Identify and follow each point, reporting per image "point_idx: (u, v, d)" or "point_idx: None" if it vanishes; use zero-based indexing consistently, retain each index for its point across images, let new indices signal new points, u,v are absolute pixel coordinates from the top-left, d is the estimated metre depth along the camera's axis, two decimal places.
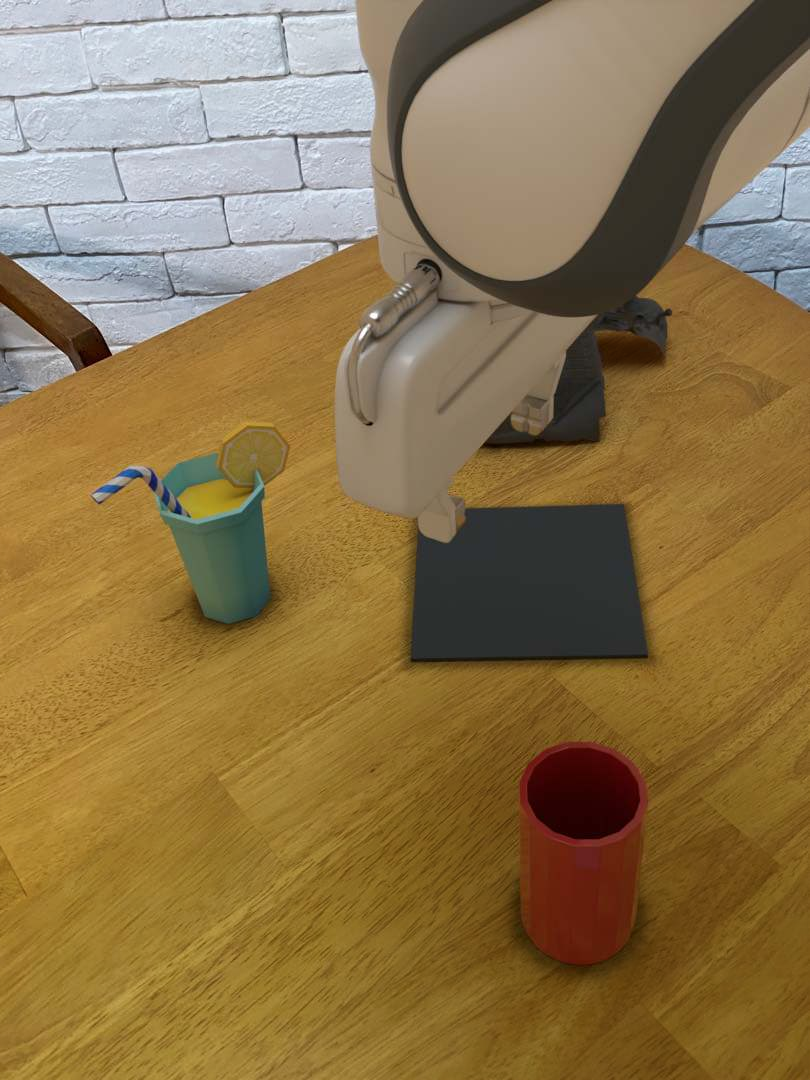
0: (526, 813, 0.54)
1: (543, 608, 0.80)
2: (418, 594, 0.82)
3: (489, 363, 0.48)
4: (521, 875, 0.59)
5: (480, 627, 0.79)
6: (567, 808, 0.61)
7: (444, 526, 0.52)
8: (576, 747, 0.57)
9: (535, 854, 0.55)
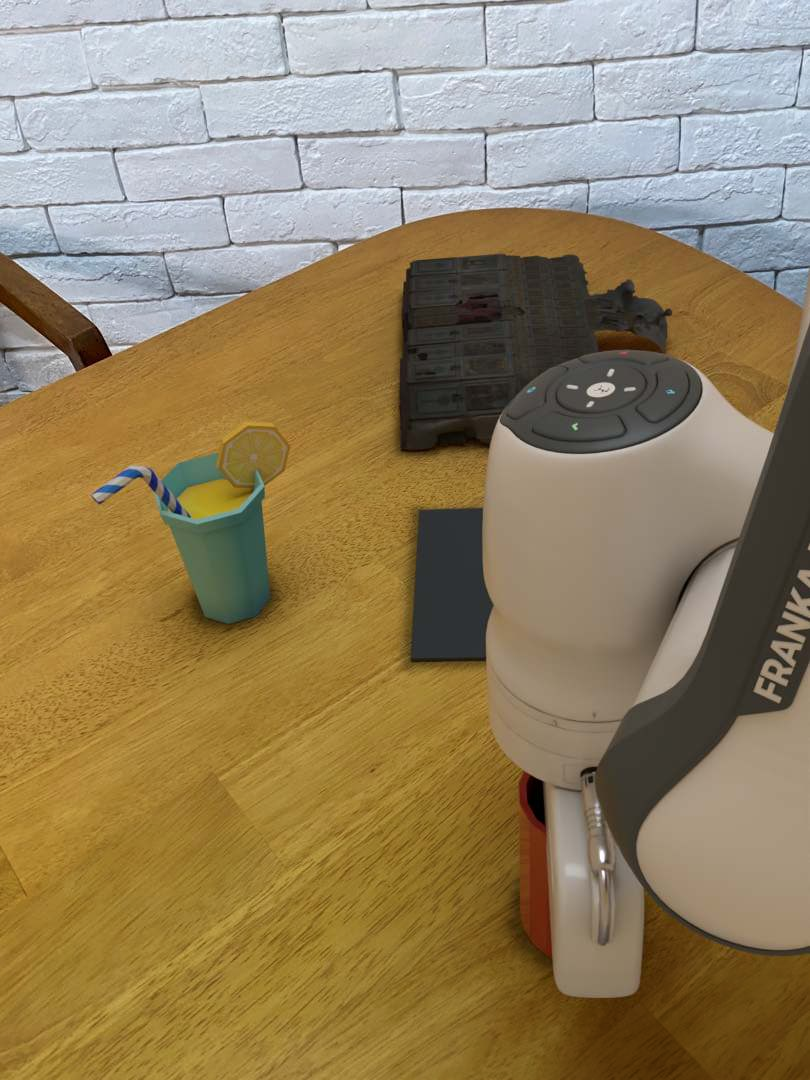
0: (525, 814, 0.54)
1: None
2: (418, 594, 0.82)
3: None
4: (520, 875, 0.59)
5: (480, 627, 0.79)
6: None
7: None
8: None
9: (534, 855, 0.55)
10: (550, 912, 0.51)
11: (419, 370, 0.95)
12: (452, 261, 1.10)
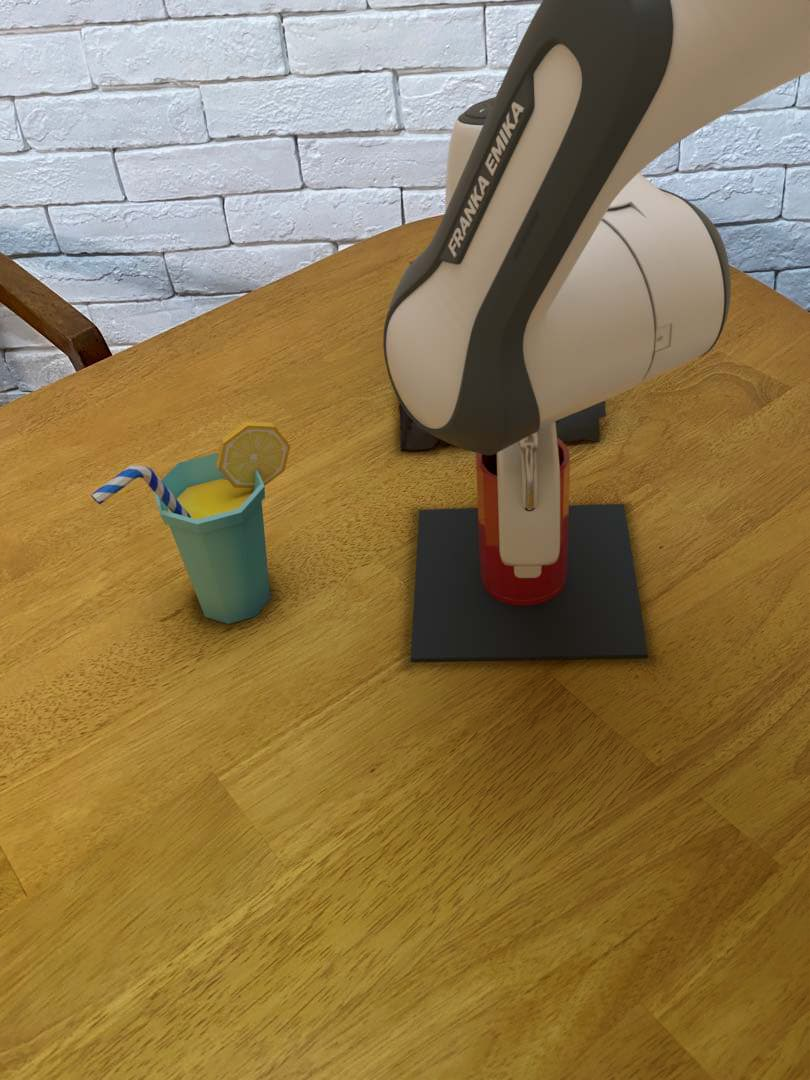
0: (480, 468, 0.75)
1: (543, 608, 0.80)
2: (418, 594, 0.82)
3: None
4: (479, 534, 0.79)
5: (480, 627, 0.79)
6: None
7: (536, 566, 0.74)
8: None
9: (488, 503, 0.76)
10: None
11: None
12: None
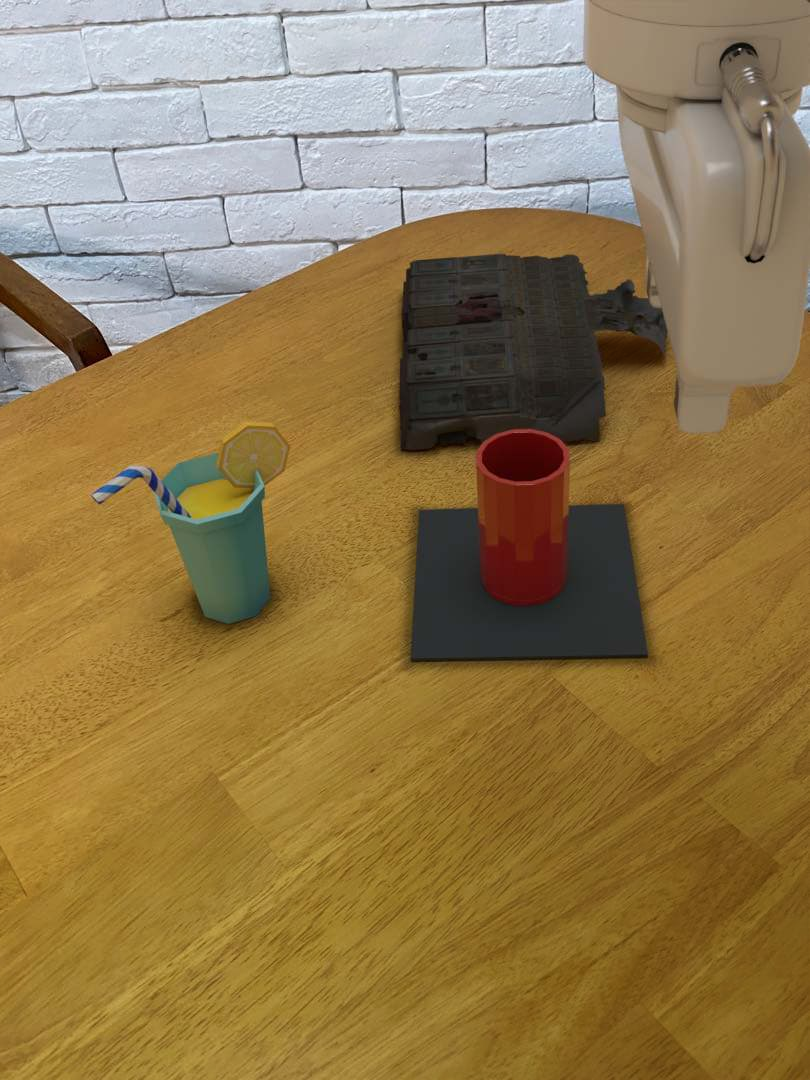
0: (480, 468, 0.75)
1: (543, 608, 0.80)
2: (418, 594, 0.82)
3: None
4: (479, 534, 0.79)
5: (480, 627, 0.79)
6: None
7: (719, 410, 0.42)
8: (519, 432, 0.77)
9: (488, 503, 0.76)
10: (667, 310, 0.38)
11: (419, 370, 0.95)
12: (452, 261, 1.10)
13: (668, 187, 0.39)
